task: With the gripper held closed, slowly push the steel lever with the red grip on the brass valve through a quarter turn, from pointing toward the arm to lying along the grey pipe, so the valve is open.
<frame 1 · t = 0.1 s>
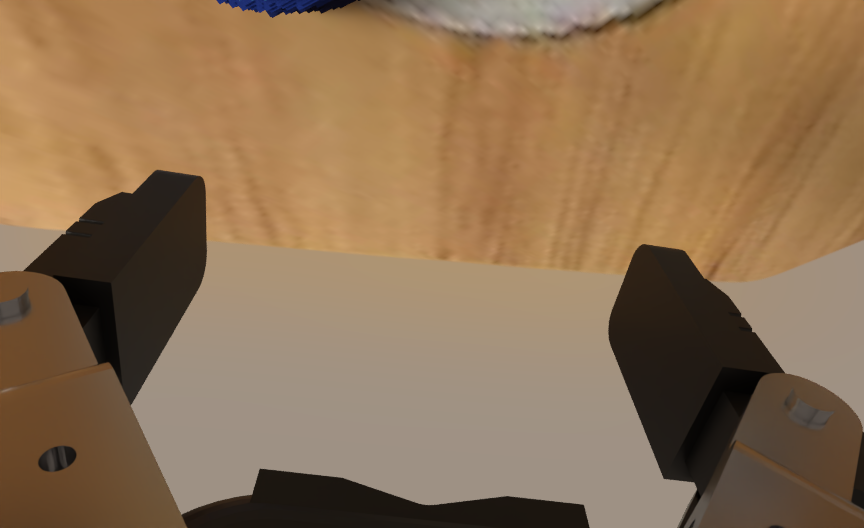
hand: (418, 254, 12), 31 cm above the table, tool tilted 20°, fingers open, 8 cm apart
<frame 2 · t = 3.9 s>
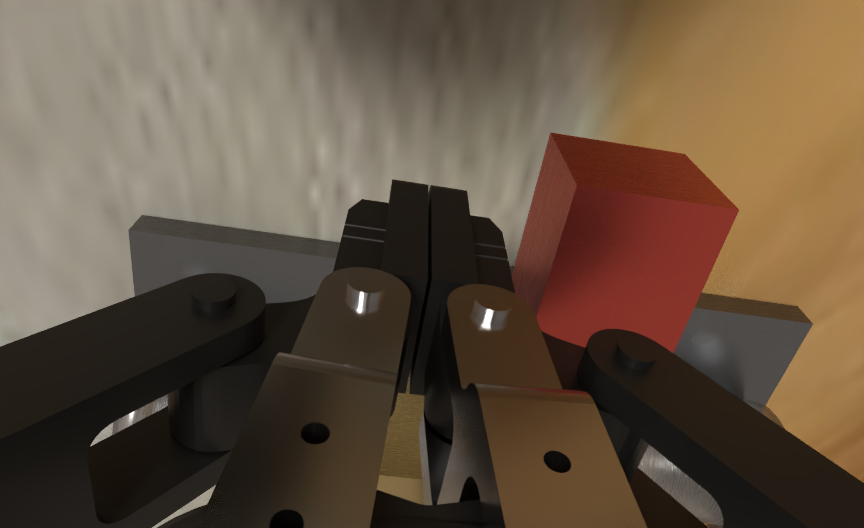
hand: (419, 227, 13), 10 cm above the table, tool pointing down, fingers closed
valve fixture: (456, 379, 27), on the table
valve lever: (524, 485, 15), point 11 cm above the table, hinge at 0.0°, touching gripper
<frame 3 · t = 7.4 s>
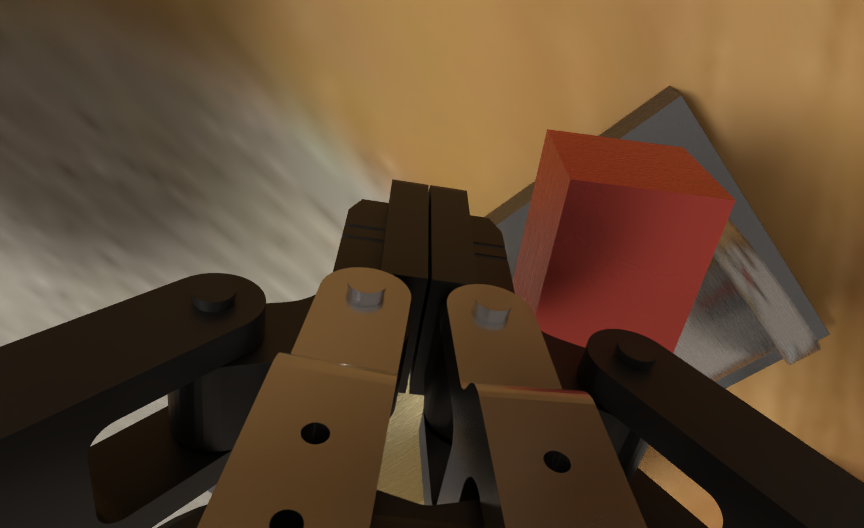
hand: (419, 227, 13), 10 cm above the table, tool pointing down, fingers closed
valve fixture: (470, 382, 27), on the table
valve lever: (533, 484, 15), point 11 cm above the table, hinge at 46.8°, touching gripper
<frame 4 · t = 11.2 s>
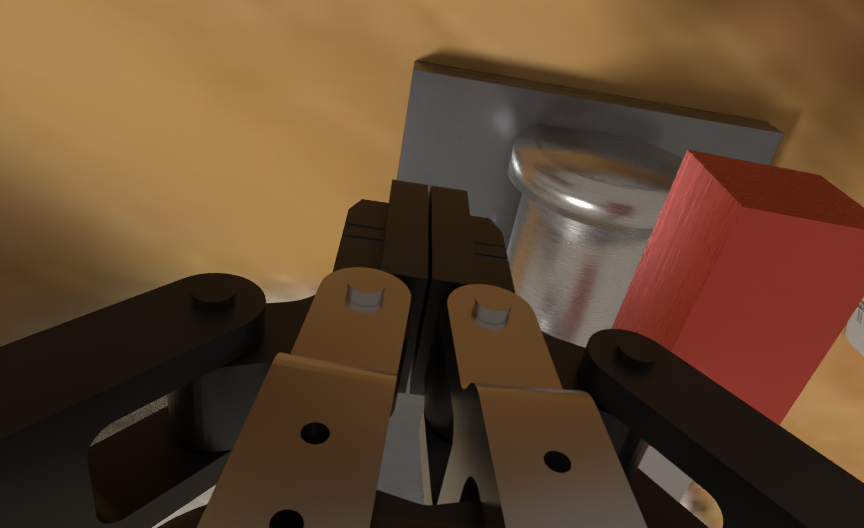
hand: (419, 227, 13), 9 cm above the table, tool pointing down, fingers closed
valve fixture: (505, 386, 27), on the table
valve lever: (620, 503, 14), point 11 cm above the table, hinge at 91.4°
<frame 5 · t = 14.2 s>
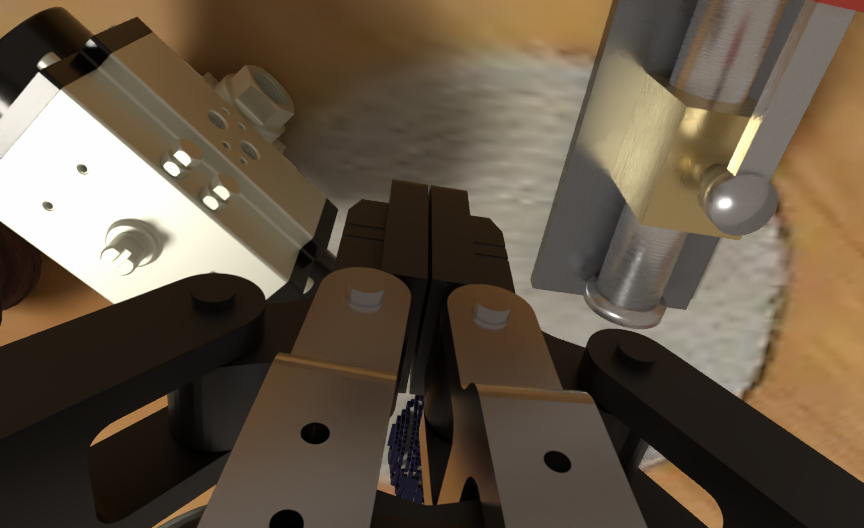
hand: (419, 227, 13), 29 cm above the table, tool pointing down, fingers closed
ball valve: (239, 117, 41), on the table
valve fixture: (666, 128, 42), on the table
decorative bowl: (497, 446, 57), on the table
valve lever: (797, 73, 29), point 11 cm above the table, hinge at 91.4°
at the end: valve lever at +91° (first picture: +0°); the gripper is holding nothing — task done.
